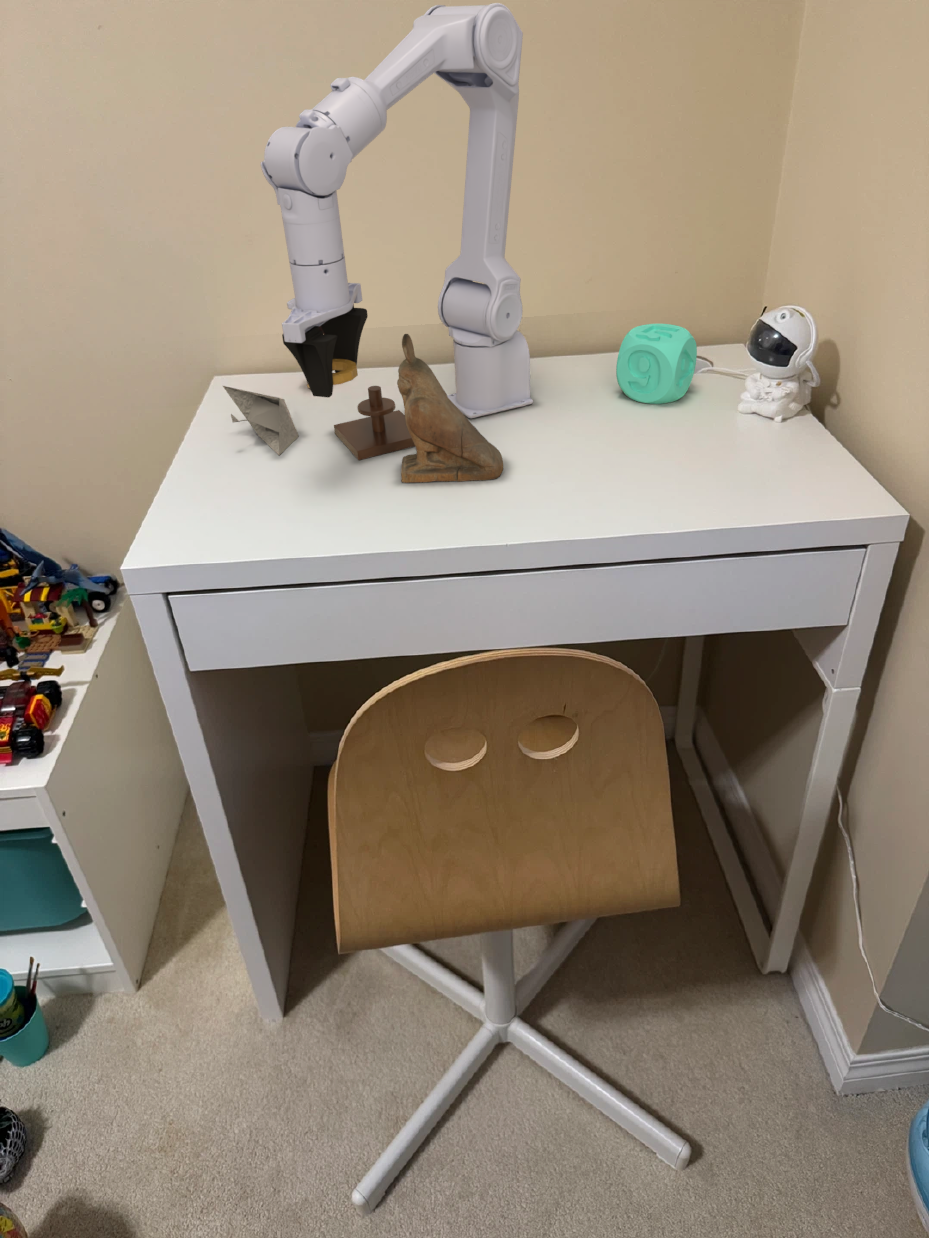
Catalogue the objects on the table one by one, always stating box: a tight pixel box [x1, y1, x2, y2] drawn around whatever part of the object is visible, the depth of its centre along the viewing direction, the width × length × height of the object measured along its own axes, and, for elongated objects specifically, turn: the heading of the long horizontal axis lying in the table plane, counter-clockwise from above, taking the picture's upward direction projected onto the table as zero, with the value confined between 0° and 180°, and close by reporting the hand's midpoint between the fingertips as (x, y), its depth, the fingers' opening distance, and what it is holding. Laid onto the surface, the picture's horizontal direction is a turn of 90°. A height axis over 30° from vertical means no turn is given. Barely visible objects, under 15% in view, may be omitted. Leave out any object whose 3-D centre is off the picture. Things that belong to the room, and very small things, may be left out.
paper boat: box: [222, 385, 300, 456], centre depth 112 cm, size 12×6×9 cm
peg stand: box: [333, 385, 415, 461], centre depth 111 cm, size 9×9×7 cm
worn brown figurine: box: [396, 333, 504, 484], centre depth 100 cm, size 12×6×18 cm, turn 87°
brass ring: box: [332, 359, 359, 386], centre depth 100 cm, size 6×6×1 cm
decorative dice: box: [615, 323, 698, 405], centre depth 118 cm, size 8×8×8 cm
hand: (334, 385), depth 101 cm, fingers closed on brass ring, 5 cm apart
